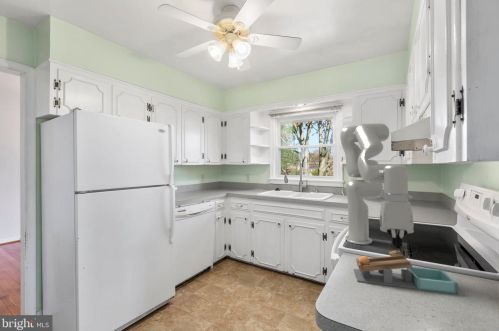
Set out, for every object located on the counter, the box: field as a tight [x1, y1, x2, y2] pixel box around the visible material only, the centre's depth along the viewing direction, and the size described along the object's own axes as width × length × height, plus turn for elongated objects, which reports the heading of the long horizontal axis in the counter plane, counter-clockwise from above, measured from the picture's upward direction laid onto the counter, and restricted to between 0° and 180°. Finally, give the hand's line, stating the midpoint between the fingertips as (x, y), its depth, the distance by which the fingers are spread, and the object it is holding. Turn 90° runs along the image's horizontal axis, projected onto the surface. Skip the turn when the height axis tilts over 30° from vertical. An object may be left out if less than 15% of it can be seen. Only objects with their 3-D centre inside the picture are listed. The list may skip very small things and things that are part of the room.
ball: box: [358, 255, 369, 265], centre depth 82 cm, size 3×3×3 cm
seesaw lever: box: [355, 250, 413, 272], centre depth 83 cm, size 13×16×3 cm
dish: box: [406, 266, 459, 295], centre depth 76 cm, size 9×10×3 cm
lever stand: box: [353, 268, 418, 290], centre depth 80 cm, size 9×17×5 cm, turn 73°
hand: (396, 247), depth 86 cm, fingers closed
